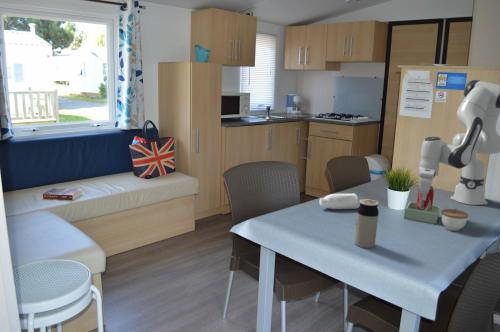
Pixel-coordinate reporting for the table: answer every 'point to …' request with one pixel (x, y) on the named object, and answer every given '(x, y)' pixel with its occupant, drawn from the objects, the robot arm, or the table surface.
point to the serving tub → (421, 213)
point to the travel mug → (366, 223)
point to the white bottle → (339, 201)
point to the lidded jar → (454, 219)
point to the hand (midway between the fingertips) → (424, 198)
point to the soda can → (427, 203)
